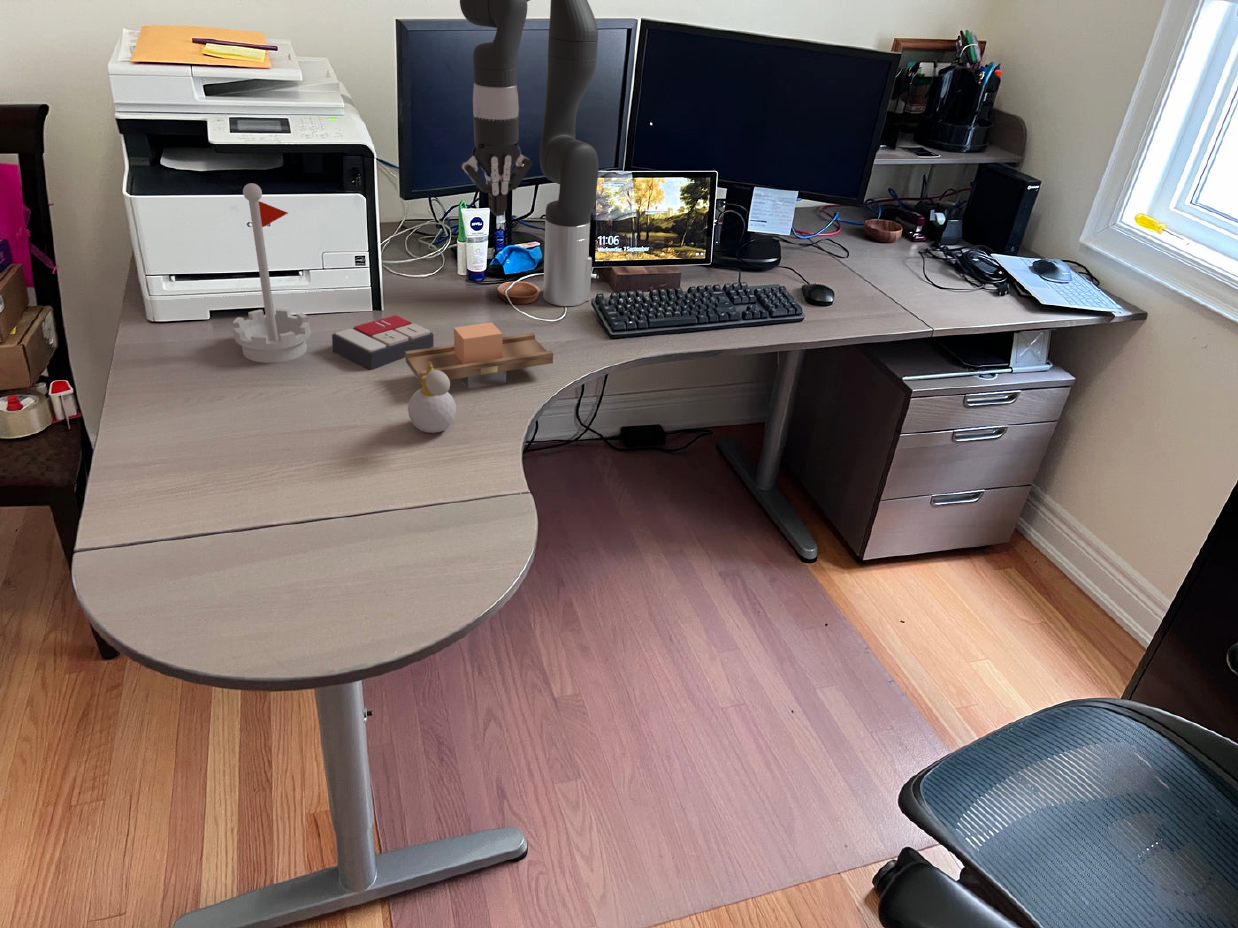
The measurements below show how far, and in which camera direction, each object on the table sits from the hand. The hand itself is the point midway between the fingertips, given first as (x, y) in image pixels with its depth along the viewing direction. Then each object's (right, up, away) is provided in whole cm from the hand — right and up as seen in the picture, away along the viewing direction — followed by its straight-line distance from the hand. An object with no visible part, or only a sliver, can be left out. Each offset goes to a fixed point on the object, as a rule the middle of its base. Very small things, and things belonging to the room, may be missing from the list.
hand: (497, 214), depth 161 cm
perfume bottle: (-8, -39, -16) cm, 43 cm away
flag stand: (-41, -24, +4) cm, 48 cm away
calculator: (-22, -23, +8) cm, 33 cm away
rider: (-3, -26, -2) cm, 26 cm away
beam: (-3, -29, 0) cm, 29 cm away
